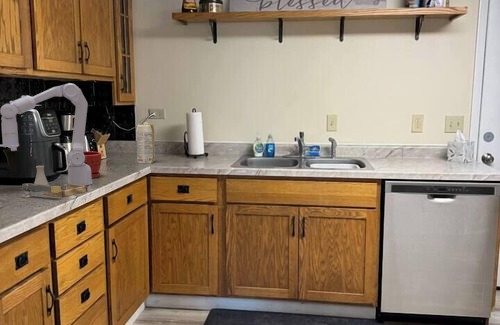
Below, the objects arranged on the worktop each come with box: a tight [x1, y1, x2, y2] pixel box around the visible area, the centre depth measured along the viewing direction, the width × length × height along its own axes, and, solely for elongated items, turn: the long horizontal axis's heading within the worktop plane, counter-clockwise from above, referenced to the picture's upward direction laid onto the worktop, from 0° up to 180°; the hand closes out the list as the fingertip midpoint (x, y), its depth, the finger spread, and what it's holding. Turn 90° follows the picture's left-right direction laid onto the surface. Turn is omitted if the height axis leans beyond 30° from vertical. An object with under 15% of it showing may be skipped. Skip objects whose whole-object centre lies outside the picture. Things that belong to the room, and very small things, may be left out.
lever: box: [21, 182, 62, 193], centre depth 178 cm, size 16×4×2 cm, turn 71°
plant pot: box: [83, 150, 102, 179], centre depth 223 cm, size 13×13×12 cm
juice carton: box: [136, 122, 156, 165], centre depth 272 cm, size 9×8×24 cm
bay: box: [42, 183, 89, 198], centre depth 187 cm, size 13×10×2 cm
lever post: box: [21, 190, 35, 198], centre depth 180 cm, size 4×4×3 cm
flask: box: [31, 165, 50, 192], centre depth 192 cm, size 7×7×10 cm
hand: (12, 166), depth 191 cm, fingers closed
